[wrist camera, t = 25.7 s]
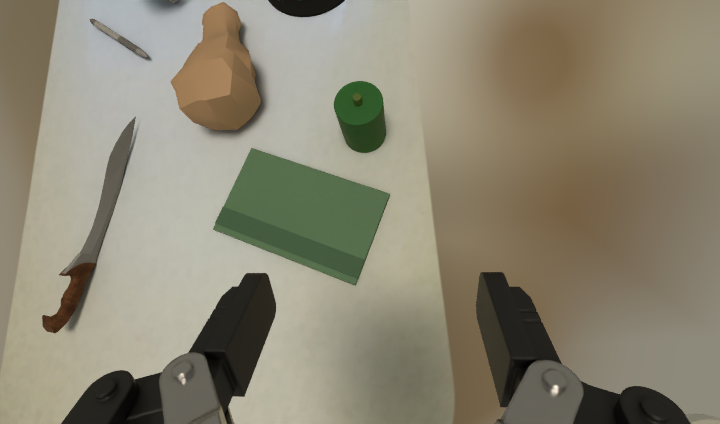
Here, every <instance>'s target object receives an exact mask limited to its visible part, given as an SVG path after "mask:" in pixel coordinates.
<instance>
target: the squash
mask: <svg viewBox="0 0 720 424" xmlns="http://www.w3.org/2000/svg"><path fill="white" fill-rule="evenodd" d="M202 24H203V40H202V42H201V43H199V44H198V45H197V46H196V47H195V49H194V50H193V51H192V53H191V54H190V56H189V57H188V59H187V61H186V62H185V64H184V66H183V67H182V69H181V70H180V71H179V72H178V73H177V75H176V76H175V77H174V78H173V79H172V80H171V84H172V86H173V88H174V90H175V91H176V96H177V100H178V104H179V108H180V110H181V111H182V112H183V113H184V114H185V115H186V116H187V117H188V118H189V119H191V120H192V121H193V122H194V123H196V124H199V125H202V126H205V127H207V128H210V129H213V130H235V129H239V128H240V127H241V126H242V125H244V124H245V123H246V122H247V121H248V120H250V119H251V118H252V116H253V115H254V113H255V112H256V110H257V108H258V107H259V105H260V103H261V99H260V96H259V93H258V91H257V88H256V85H255V82H254V80H255V77H256V73H255V70H254V68H253V65H252V62H251V59H250V55H249V51H248V50H247V49H246V48H245V47H244V46H243V45H242V44H241V43H240V41H239V30H240V27H241V22H240V19H239V16H238V13H237V11H235V10H234V9H232V8H231V7H230V6H228V5H227V4H225V3H224V2H222V3H220V4H217V5H215V6H212V7H211V8H209V9H208V10H207V11H206V12H205V13H204V14H203V20H202Z"/></svg>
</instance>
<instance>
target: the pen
mask: <svg viewBox="0 0 720 424" xmlns="http://www.w3.org/2000/svg"><path fill="white" fill-rule="evenodd" d="M90 22H91V23H92V24H93V25H94V26H96V27H97V28H99V29H100V30H101V31H102V32H104V33H106V34H107V35H109V36H111V37H112V38H114V39H115V40H117V41H118V42H120V43H121V44H123V45H124V46H126V47H127V48H129V49H130V50H132V51H133V52H135V53H136V54H138V55H140V56H142V57H145V58H147V57H148V55H147V54H146V53H145V52H144V51H143V50H142V49H141V48H139V47H137V46H136V45H134V44H133V43H131V42H130V41H128V40H127V39H125V38H124V37H122V36H120V35H118V34H117V33H115V32H114V31H112V30H111V29H109V28H108V27H106V26H105V25H103V24H101V23H100V22H98V21H97V20H95V19H90Z"/></svg>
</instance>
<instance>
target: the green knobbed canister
mask: <svg viewBox="0 0 720 424" xmlns="http://www.w3.org/2000/svg"><path fill="white" fill-rule="evenodd" d="M334 109H335V113H336V115H337V118H338V121H339V124H340V127H341V130H342V132H343V135H344V138H345V141H346V143H347V145H348V146H349V147H350V148H351V149H353V150H355V151H357V152H362V153H367V152H371V151H374V150H376V149H377V148H378V147H380V146H381V144H382V143H383V142H384V140H385V136H386V127H385V117H384V106H383V97H382V94H381V92H380V91H379V89H378V88H377V87H376V86H374V85H373V84H371V83H368V82H364V81H357V82H352V83H349V84H347V85H345V86H344V87H343V88H342V89H341V90H340V91H339V92H338V93H337V95H336V97H335V101H334Z"/></svg>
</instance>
